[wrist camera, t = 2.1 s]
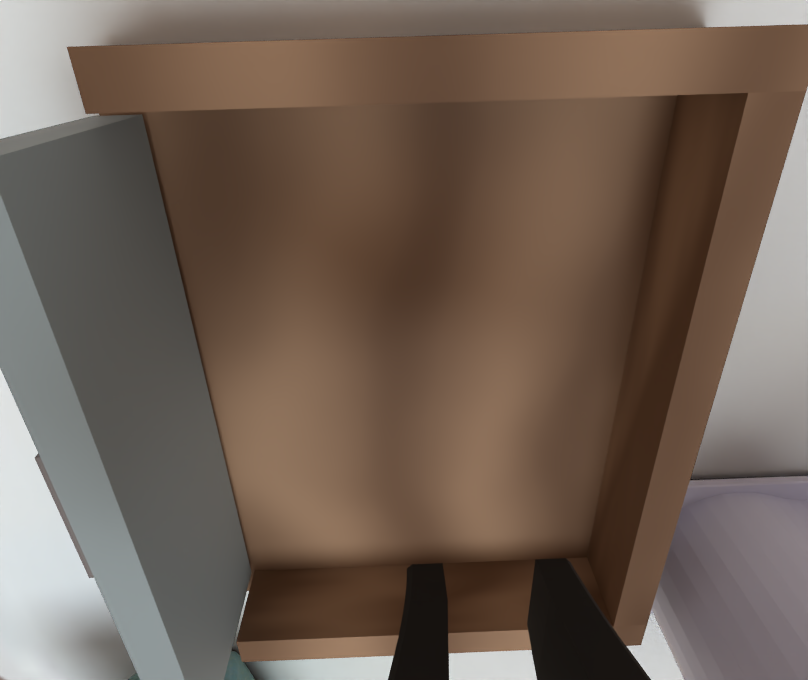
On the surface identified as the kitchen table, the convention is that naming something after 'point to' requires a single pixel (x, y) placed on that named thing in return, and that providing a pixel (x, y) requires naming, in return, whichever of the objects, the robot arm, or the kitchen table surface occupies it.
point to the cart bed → (459, 301)
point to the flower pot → (229, 669)
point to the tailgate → (119, 390)
